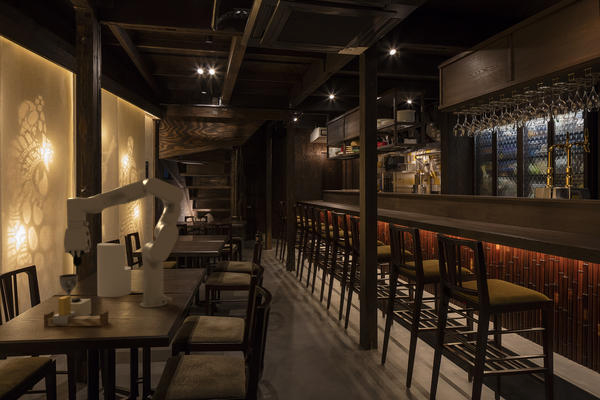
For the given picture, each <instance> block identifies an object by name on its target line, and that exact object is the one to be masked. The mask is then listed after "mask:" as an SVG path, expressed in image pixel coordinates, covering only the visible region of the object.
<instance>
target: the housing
mask: <svg viewBox="0 0 600 400" xmlns="http://www.w3.org/2000/svg"><path fill="white" fill-rule="evenodd" d="M73 311H76V316H91V314H92V299H91V298H80V301H79V302H78V303H72V301H71V312H73Z"/></svg>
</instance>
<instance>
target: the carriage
mask: <svg viewBox="0 0 600 400" xmlns="http://www.w3.org/2000/svg"><path fill="white" fill-rule="evenodd" d="M71 299H72V298H71V295H70V296H67V295H64V296H61V297H59V298H58V307H57V308H58V312H57V313H56V314H54V316H53V325H68V324H69V318H70V317H72V316H76V311H73V312H71Z"/></svg>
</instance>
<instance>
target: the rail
mask: <svg viewBox="0 0 600 400" xmlns="http://www.w3.org/2000/svg"><path fill="white" fill-rule="evenodd" d="M54 315H55V311H54V310H51V311H48V312H47V313H44V315H43V327H76V326H77V327H81V326H83V327H85V326H86V327H87V326H88V327H90V326H93V327H94V326H97V327H98V326H99V327H103V326H105V325H106V324H107V323H109V310H104V311H103V312H100V313H99V315H88V316H72V317H70V318H69V324H68V325H53V316H54Z"/></svg>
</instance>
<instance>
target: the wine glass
mask: <svg viewBox="0 0 600 400" xmlns="http://www.w3.org/2000/svg"><path fill="white" fill-rule="evenodd" d="M58 276H59V284H60V285H59V286H60V288H61V289H62V290H63V291H65V292H64V293H66V294H67V295H66V296H71V293H72V292H73V291H74V289H75V288H76V287H77V285H78V281H79V280H78V278H79V277H78V274H77V273H68V274H67V273H65V274H61V275H58Z"/></svg>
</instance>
